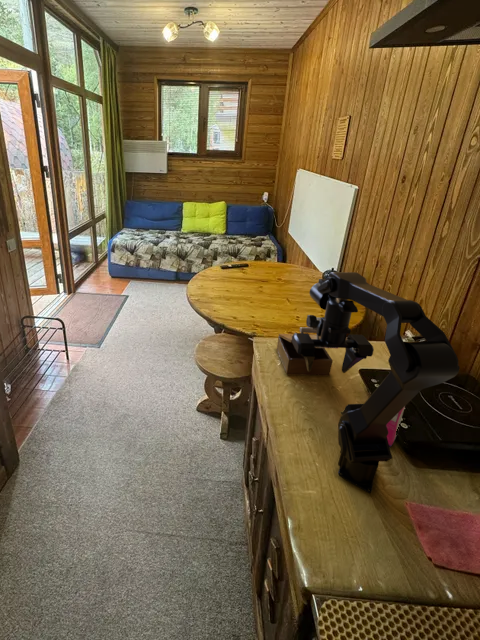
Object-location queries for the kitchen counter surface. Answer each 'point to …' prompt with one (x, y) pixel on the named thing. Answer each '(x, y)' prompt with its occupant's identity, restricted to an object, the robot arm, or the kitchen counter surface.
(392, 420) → the supplement box
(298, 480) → the kitchen counter surface
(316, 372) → the chest
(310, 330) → the lid
